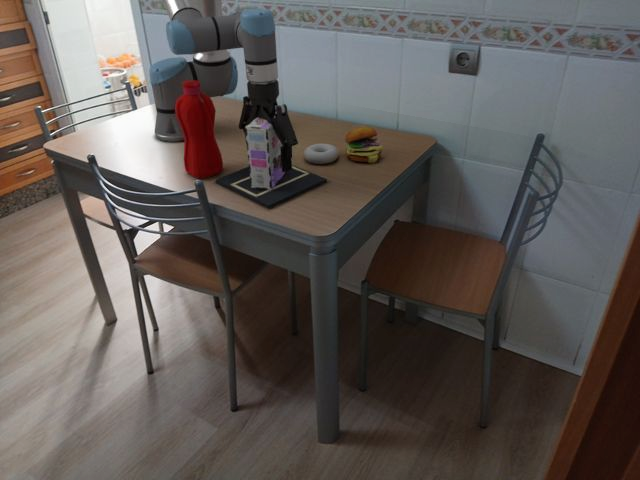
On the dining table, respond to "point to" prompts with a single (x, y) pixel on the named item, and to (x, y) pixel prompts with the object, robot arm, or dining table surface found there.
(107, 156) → the dining table surface
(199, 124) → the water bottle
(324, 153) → the donut
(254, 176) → the candy box
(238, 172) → the placemat
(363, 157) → the cheeseburger
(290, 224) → the dining table surface
